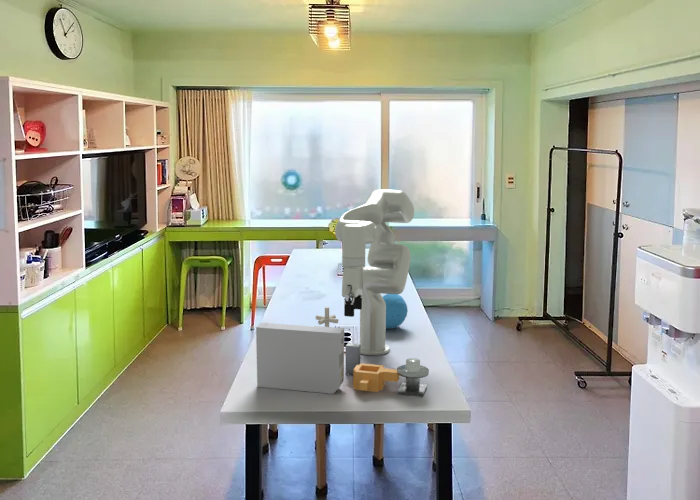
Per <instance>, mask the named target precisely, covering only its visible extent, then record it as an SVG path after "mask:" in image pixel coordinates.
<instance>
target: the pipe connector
mask: <svg viewBox="0 0 700 500" xmlns="http://www.w3.org/2000/svg"><path fill="white" fill-rule="evenodd" d="M315 320H316V321H317V324H318V326H319V325H320V326H321V325H323V324H324V327H330V323H332V324H338V323H339V319H338V318H336V315H335V314H331V315H330V307H329V306H325V307H324V315H318V314H317V315H315Z"/></svg>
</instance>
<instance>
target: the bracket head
mask: <svg viewBox="0 0 700 500" xmlns="http://www.w3.org/2000/svg"><path fill="white" fill-rule="evenodd" d="M384 366H385V365H383V364H373V363H364V362H363V363H361V362H360V365H356V367H355V368H354V369H353V375H352V376H353V377H352V388H353V389H354V390H355V391H363V392H372V393H373V392H374V393H379V391H383V390H384V388H385V386H386V382H392V383H393V382H394V383H398V382H399V381H400V376H399V375H398V374H397V368H396V369H395V368H386V367H384Z"/></svg>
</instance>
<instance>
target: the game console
mask: <svg viewBox="0 0 700 500" xmlns="http://www.w3.org/2000/svg"><path fill="white" fill-rule="evenodd" d="M255 330H256V331H255V337H256V339H255V340H256V342H255V343H256V344H255V345H256V346H255V347H256V383H257V385H256V387H257V388H267V389H268V388H269V389H276V390H277V389H279V390H289V391H298V392H299V391H300V392H310V393H322V394H332V395H333V394H335V393H336V392H337V390H339V388H341V386H342V384H343V382H344V381H345V328H344V327H332V326H331V327H330V326H329V327H325V326H321V325H320V326H319V325H314V326H312V325H311V326H310V325H298V324H297V325H296V324H284V323H282V324H281V323H269V322H266V321H265V322H261V323H259V324H258V325H257V326H255Z"/></svg>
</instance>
